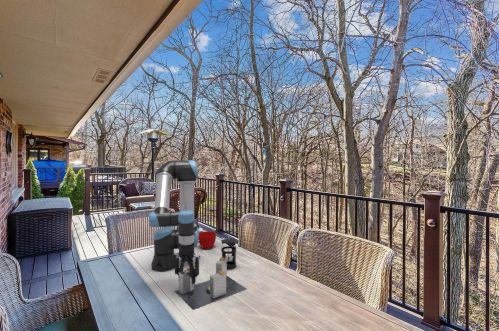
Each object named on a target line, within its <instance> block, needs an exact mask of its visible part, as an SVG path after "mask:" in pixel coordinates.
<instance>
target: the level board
mask: <svg viewBox="0 0 499 331" xmlns="http://www.w3.org/2000/svg"><path fill="white" fill-rule="evenodd" d="M246 290H248V288H246V287H245V286H243V285H242V284H241V283H239V282H237V281H236V280H234V279H233V278H231V277H230V276H228V275H227V277H226V294H225V295H223V296H220V297H217V298H215V299H213V298H212V297H211V296H210V279H209V280H206V281H203V282H200V283H195V289H194V290H192V291H190V292H187V293H185V294H181V293H180V292H179V289H178V290H174V293H175V294H176V295H177V296H178V297H179V298H180V299H181V300H182V301H184V303H185V304H186V305H187V306H189V307H190V309H191V310H192V311H195V310H197V309H200V308H203V307H205V306H208V305H210V304H212V303H216V302H218V301H221V300H224V299H225V298H228V297H231V296H233V295H236V294H238V293H241V292H244V291H246ZM189 307H188V308H189Z"/></svg>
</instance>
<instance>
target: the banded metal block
mask: <svg viewBox="0 0 499 331" xmlns="http://www.w3.org/2000/svg"><path fill="white" fill-rule="evenodd" d="M209 280H210V296H211V297H212V298H213V299H215V298H217V297H220V296H223V295H225V294H226V273H225V272H224V271H220V272H219V273H217V274H216V273H215V274H211V275H210V276H209Z"/></svg>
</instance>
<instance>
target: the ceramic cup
mask: <svg viewBox="0 0 499 331" xmlns="http://www.w3.org/2000/svg"><path fill="white" fill-rule="evenodd" d="M216 241H217V233H216V232H215V231H211V230H210V231H207V230H206V231H201V232H200V231H199V238H198V244H199V245H200V246H201V248H202V249H203V250H208V249H209V250H210V249H212V248H213V246H214V245H215V244H216Z"/></svg>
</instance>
